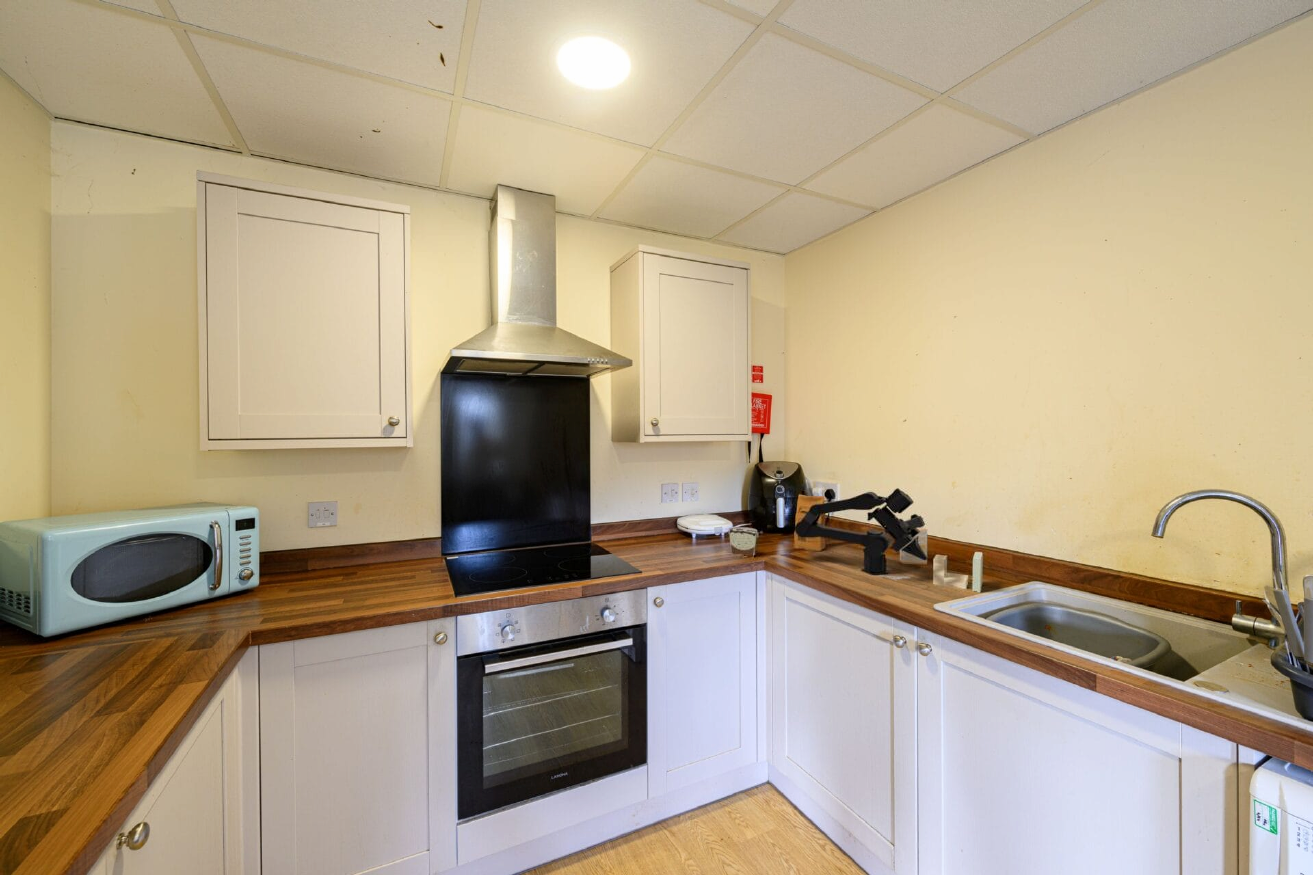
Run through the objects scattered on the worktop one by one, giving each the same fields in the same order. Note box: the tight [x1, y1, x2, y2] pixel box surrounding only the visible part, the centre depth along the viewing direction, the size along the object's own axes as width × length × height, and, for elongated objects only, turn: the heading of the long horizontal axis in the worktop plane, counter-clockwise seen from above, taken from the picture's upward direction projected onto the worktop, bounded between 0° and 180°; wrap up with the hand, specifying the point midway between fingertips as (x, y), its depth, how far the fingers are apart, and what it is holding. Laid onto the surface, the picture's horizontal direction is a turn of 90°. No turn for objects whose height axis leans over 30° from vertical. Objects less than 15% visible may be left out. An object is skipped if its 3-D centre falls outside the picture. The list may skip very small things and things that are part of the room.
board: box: [971, 551, 984, 593], centre depth 164 cm, size 2×11×10 cm, turn 146°
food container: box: [727, 526, 759, 556], centre depth 206 cm, size 12×6×10 cm, turn 58°
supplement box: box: [899, 526, 928, 566], centre depth 194 cm, size 8×5×13 cm, turn 84°
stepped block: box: [932, 554, 969, 590], centre depth 168 cm, size 9×8×8 cm
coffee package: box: [793, 494, 827, 552], centre depth 217 cm, size 10×12×22 cm
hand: (926, 559), depth 172 cm, fingers closed
